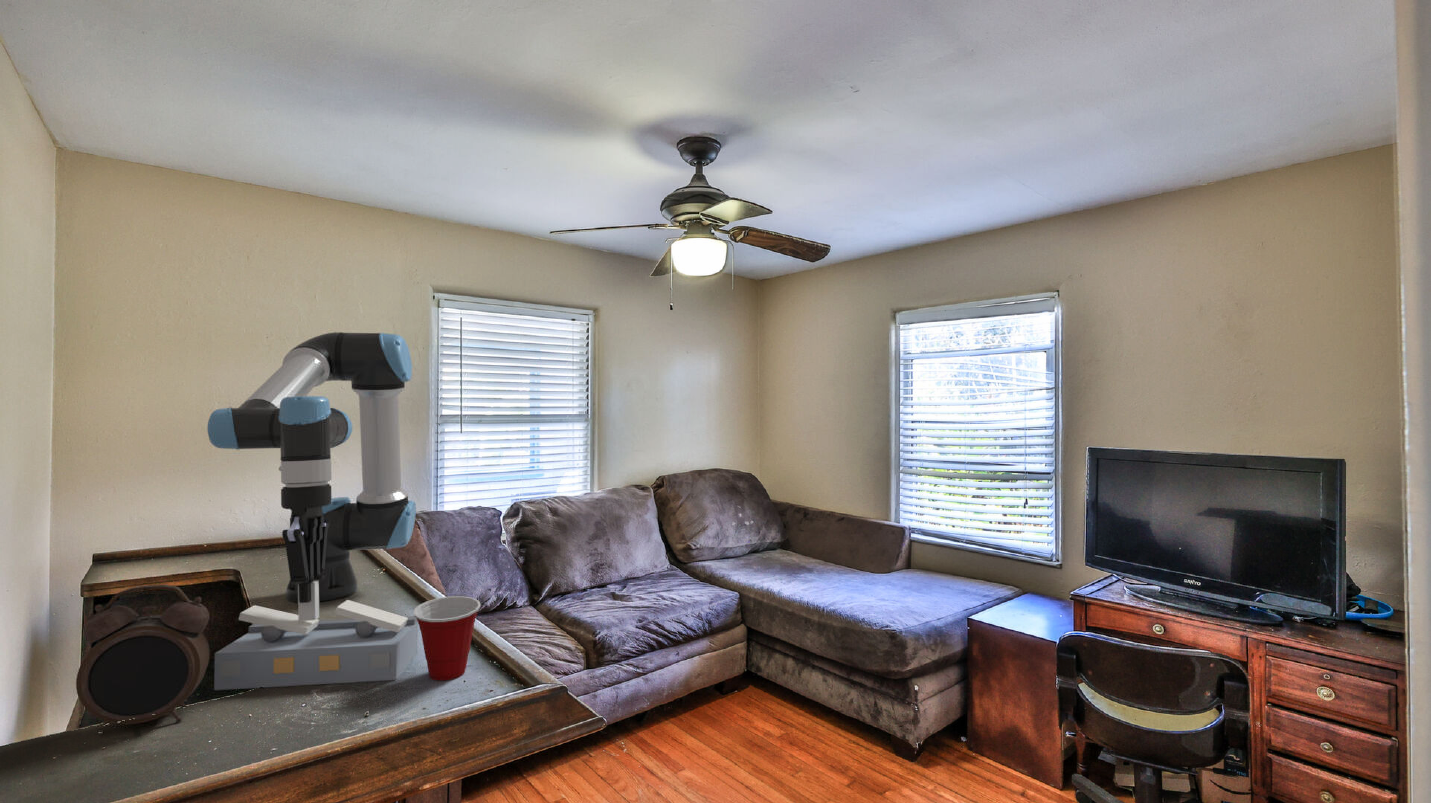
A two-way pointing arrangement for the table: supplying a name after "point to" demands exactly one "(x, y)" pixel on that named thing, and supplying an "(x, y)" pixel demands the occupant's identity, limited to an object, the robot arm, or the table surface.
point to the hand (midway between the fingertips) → (308, 619)
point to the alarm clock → (143, 659)
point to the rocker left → (276, 622)
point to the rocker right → (370, 618)
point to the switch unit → (316, 656)
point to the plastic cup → (447, 634)
